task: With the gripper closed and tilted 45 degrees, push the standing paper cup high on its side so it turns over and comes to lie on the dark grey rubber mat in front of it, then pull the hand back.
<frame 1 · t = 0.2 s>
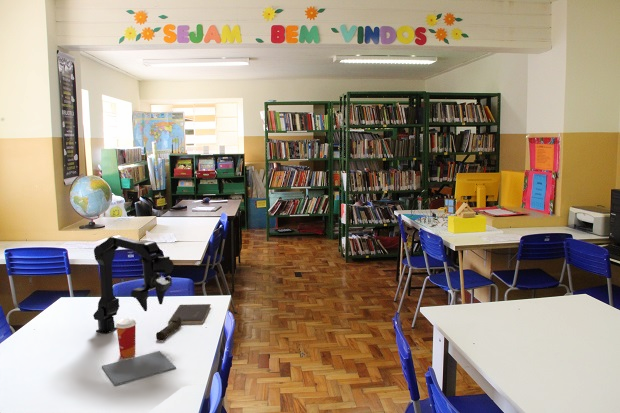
hand: (153, 307, 211), 14 cm above the table, tool pointing down, fingers open, 9 cm apart
hand tool: (169, 333, 222), on the table
paper cup: (127, 355, 198), on the table
hardcover book: (190, 317, 242), on the table
mat: (138, 367, 186), on the table
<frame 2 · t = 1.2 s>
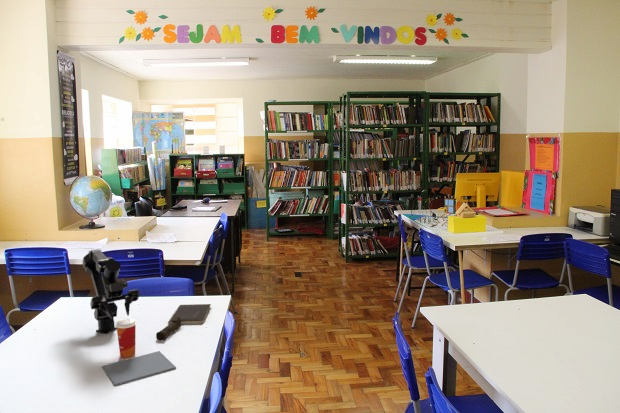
hand: (120, 316, 202), 13 cm above the table, tool tilted 45°, fingers open, 6 cm apart
nothing on the table moved.
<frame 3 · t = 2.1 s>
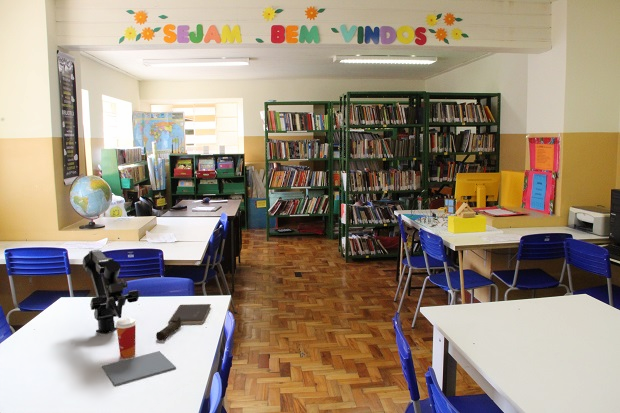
hand: (120, 317, 202), 13 cm above the table, tool tilted 45°, fingers closed
nothing on the table moved.
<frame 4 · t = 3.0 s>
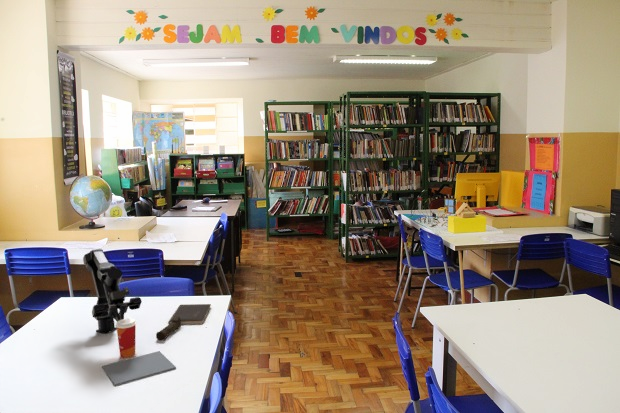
hand: (122, 325, 201), 11 cm above the table, tool tilted 45°, fingers closed
nothing on the table moved.
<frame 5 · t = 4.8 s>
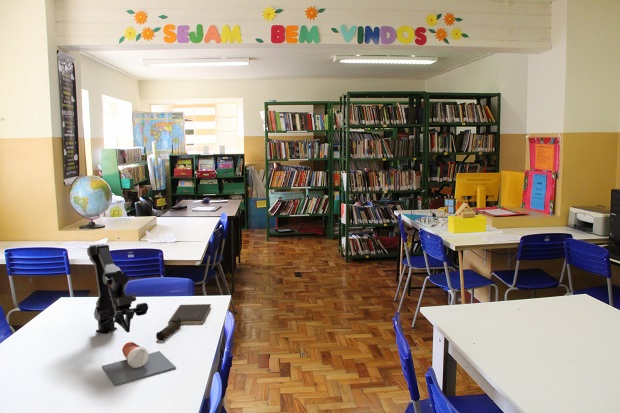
hand: (128, 332, 194), 11 cm above the table, tool tilted 45°, fingers closed
paper cup: (129, 349, 196), point 3 cm above the table, touching mat
everything else where it was.
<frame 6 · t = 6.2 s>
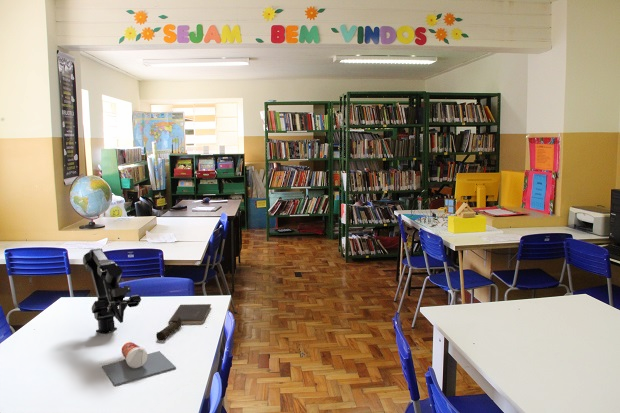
hand: (121, 322, 202), 12 cm above the table, tool tilted 40°, fingers closed
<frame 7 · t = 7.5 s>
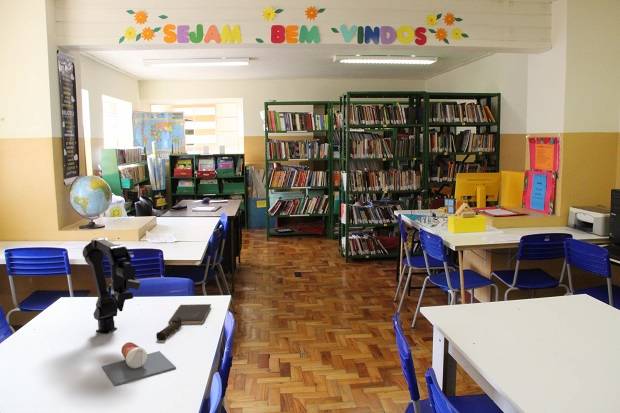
hand: (120, 311, 211), 13 cm above the table, tool pointing down, fingers closed
nothing on the table moved.
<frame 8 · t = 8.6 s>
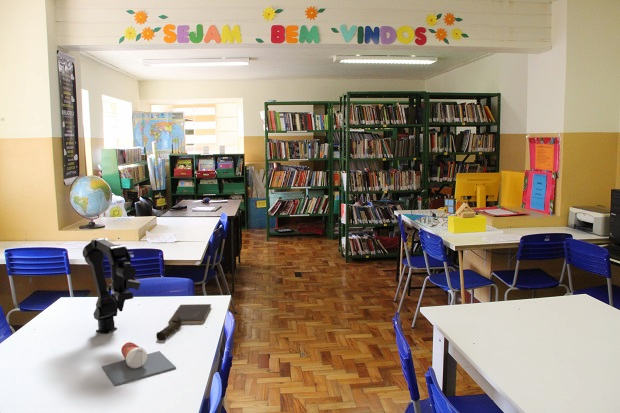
hand: (120, 311, 211), 13 cm above the table, tool pointing down, fingers closed
nothing on the table moved.
at the end: paper cup tilted 84°; paper cup touching mat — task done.
